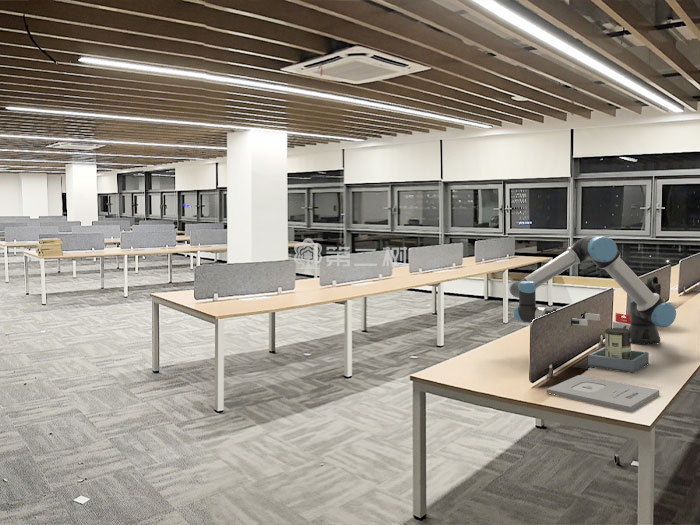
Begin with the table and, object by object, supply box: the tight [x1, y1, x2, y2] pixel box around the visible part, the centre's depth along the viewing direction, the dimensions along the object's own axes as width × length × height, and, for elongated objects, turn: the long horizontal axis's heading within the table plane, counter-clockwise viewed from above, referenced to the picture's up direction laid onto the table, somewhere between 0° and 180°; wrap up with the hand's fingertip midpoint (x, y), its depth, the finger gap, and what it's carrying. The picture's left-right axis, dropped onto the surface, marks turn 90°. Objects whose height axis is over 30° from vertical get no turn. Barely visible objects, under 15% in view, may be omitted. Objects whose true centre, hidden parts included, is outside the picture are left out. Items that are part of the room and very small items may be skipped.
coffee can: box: [604, 327, 632, 360], centre depth 248 cm, size 10×10×14 cm
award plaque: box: [546, 374, 660, 413], centre depth 211 cm, size 25×30×2 cm
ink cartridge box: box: [612, 312, 630, 330], centre depth 314 cm, size 2×11×10 cm, turn 25°
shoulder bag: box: [644, 275, 662, 297], centre depth 331 cm, size 23×9×28 cm, turn 142°
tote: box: [587, 346, 650, 374], centre depth 249 cm, size 18×18×5 cm
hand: (593, 320), depth 254 cm, fingers open, 13 cm apart
